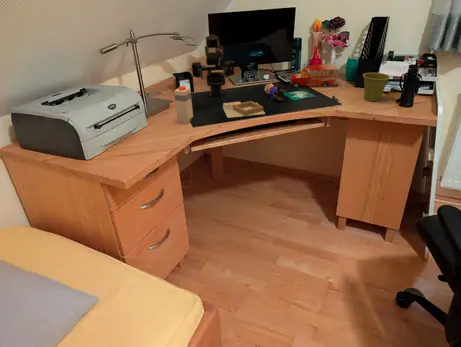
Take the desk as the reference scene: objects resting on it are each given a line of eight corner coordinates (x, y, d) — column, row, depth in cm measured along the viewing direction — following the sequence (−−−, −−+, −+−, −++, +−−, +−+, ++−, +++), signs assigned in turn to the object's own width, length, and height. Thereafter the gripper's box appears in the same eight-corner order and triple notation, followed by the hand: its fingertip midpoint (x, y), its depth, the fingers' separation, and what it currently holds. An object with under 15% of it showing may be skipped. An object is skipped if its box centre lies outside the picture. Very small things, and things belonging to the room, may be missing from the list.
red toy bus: (288, 82, 198) (289, 64, 193) (333, 81, 197) (335, 63, 192) (290, 88, 189) (291, 70, 184) (337, 87, 187) (339, 68, 182)
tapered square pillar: (183, 117, 158) (179, 84, 150) (193, 119, 156) (190, 85, 148) (177, 122, 154) (173, 88, 146) (188, 123, 152) (184, 89, 144)
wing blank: (223, 106, 165) (223, 103, 164) (239, 104, 166) (239, 101, 165) (224, 108, 162) (224, 105, 162) (241, 106, 163) (241, 103, 163)
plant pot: (384, 104, 162) (388, 80, 156) (357, 101, 167) (360, 77, 161) (387, 96, 171) (391, 73, 165) (361, 94, 176) (365, 71, 170)
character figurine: (275, 104, 169) (263, 95, 181) (289, 101, 170) (276, 93, 183) (274, 88, 165) (262, 81, 177) (288, 85, 166) (275, 78, 179)
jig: (222, 108, 166) (221, 102, 164) (257, 105, 168) (257, 98, 166) (227, 120, 153) (227, 113, 151) (265, 116, 155) (265, 109, 154)
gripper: (191, 45, 157) (189, 61, 146) (232, 43, 157) (233, 59, 146) (194, 68, 165) (192, 85, 154) (233, 66, 165) (234, 83, 154)
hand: (212, 77), depth 152 cm, fingers open, 9 cm apart
